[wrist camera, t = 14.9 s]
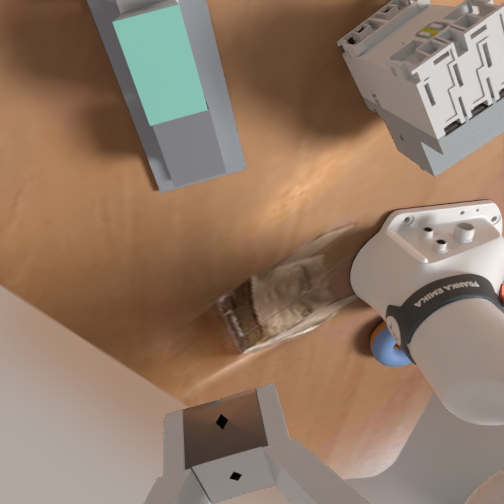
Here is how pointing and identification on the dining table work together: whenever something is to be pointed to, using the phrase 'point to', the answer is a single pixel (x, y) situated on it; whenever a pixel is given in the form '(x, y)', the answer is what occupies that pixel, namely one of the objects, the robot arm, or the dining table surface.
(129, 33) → the block
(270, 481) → the robot arm
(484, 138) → the circuit breaker
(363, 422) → the dining table surface
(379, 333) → the doughnut
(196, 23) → the rail assembly
